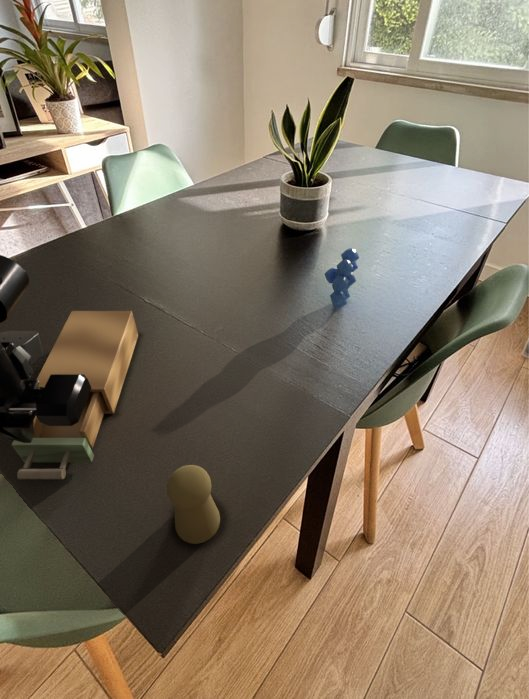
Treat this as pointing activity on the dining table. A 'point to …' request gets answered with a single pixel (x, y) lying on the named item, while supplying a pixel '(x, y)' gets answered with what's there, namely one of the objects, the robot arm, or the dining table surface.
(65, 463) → the drawer
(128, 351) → the cabinet
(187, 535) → the olive rounded upright piece
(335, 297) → the grapes
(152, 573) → the dining table surface
